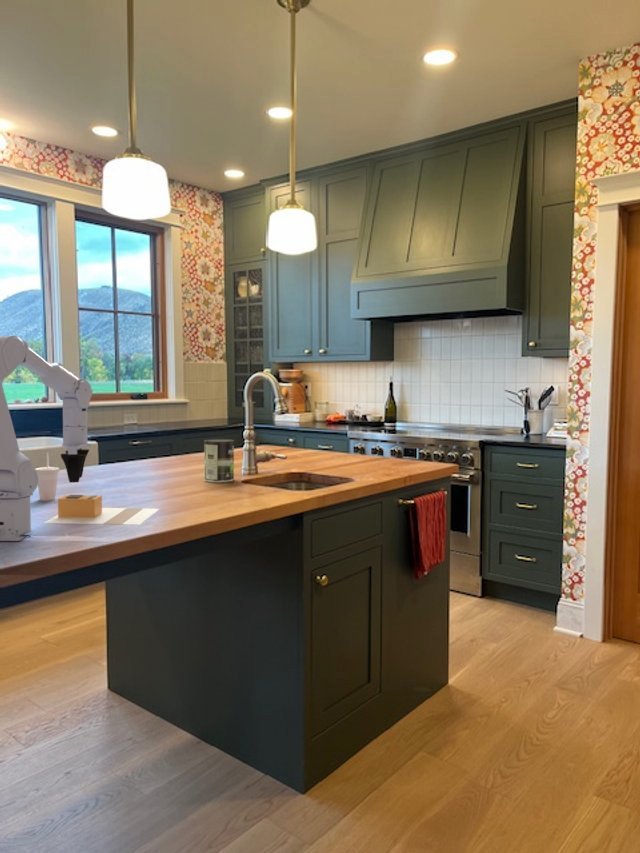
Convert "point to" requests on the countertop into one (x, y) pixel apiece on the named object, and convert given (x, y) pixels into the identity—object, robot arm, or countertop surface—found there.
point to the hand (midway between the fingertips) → (75, 479)
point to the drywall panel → (110, 517)
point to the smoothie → (47, 481)
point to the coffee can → (219, 460)
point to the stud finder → (79, 506)
